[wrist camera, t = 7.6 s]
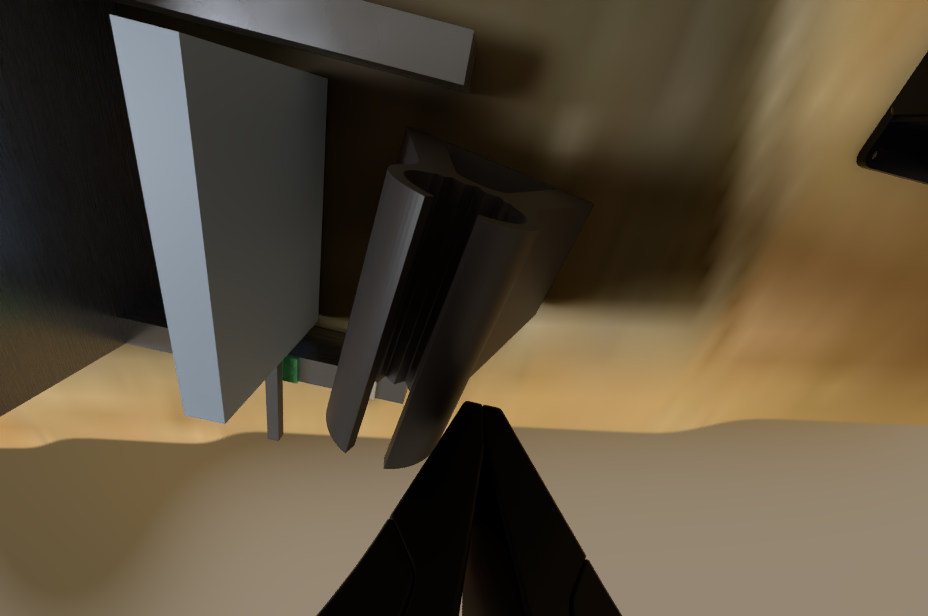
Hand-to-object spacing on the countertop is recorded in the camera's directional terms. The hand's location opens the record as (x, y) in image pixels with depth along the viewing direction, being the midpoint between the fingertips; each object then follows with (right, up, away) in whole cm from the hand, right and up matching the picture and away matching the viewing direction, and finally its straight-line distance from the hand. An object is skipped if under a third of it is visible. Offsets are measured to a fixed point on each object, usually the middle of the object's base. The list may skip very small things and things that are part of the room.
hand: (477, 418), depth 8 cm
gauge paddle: (-9, +5, +11) cm, 15 cm away
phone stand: (0, +7, +10) cm, 12 cm away
